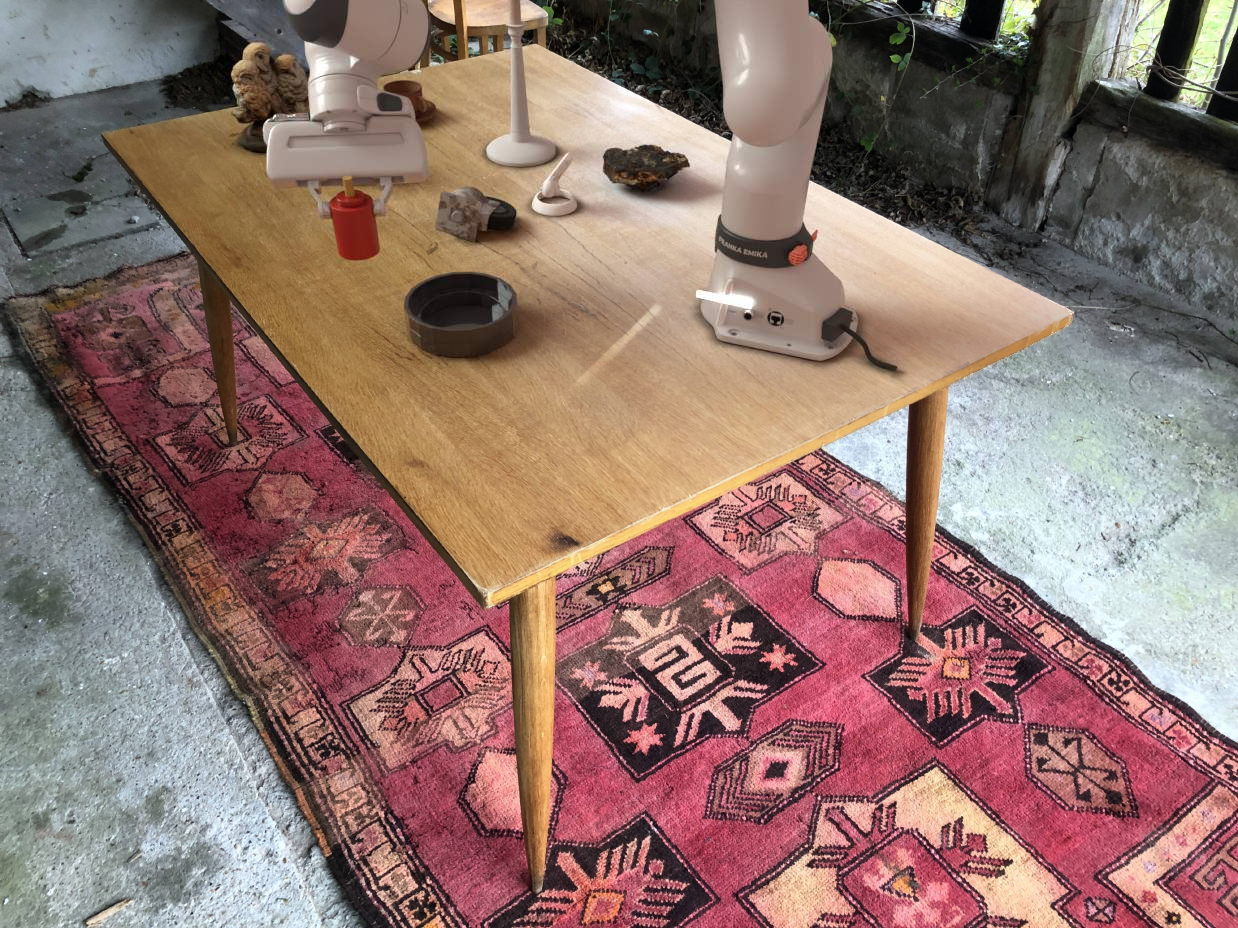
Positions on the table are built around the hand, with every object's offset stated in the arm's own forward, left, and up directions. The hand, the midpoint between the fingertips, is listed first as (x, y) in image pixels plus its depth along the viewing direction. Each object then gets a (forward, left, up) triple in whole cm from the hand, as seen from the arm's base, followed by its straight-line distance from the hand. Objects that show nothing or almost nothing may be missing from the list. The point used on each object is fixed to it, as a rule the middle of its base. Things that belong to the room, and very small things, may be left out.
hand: (353, 216), depth 125 cm
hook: (-1, -45, -17) cm, 48 cm away
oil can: (0, 0, -5) cm, 5 cm away
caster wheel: (+5, -32, -17) cm, 37 cm away
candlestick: (+16, -60, -17) cm, 65 cm away
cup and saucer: (+44, -61, -17) cm, 77 cm away
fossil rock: (-10, -61, -17) cm, 64 cm away
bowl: (-11, -6, -17) cm, 21 cm away
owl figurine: (+58, -41, -17) cm, 73 cm away
